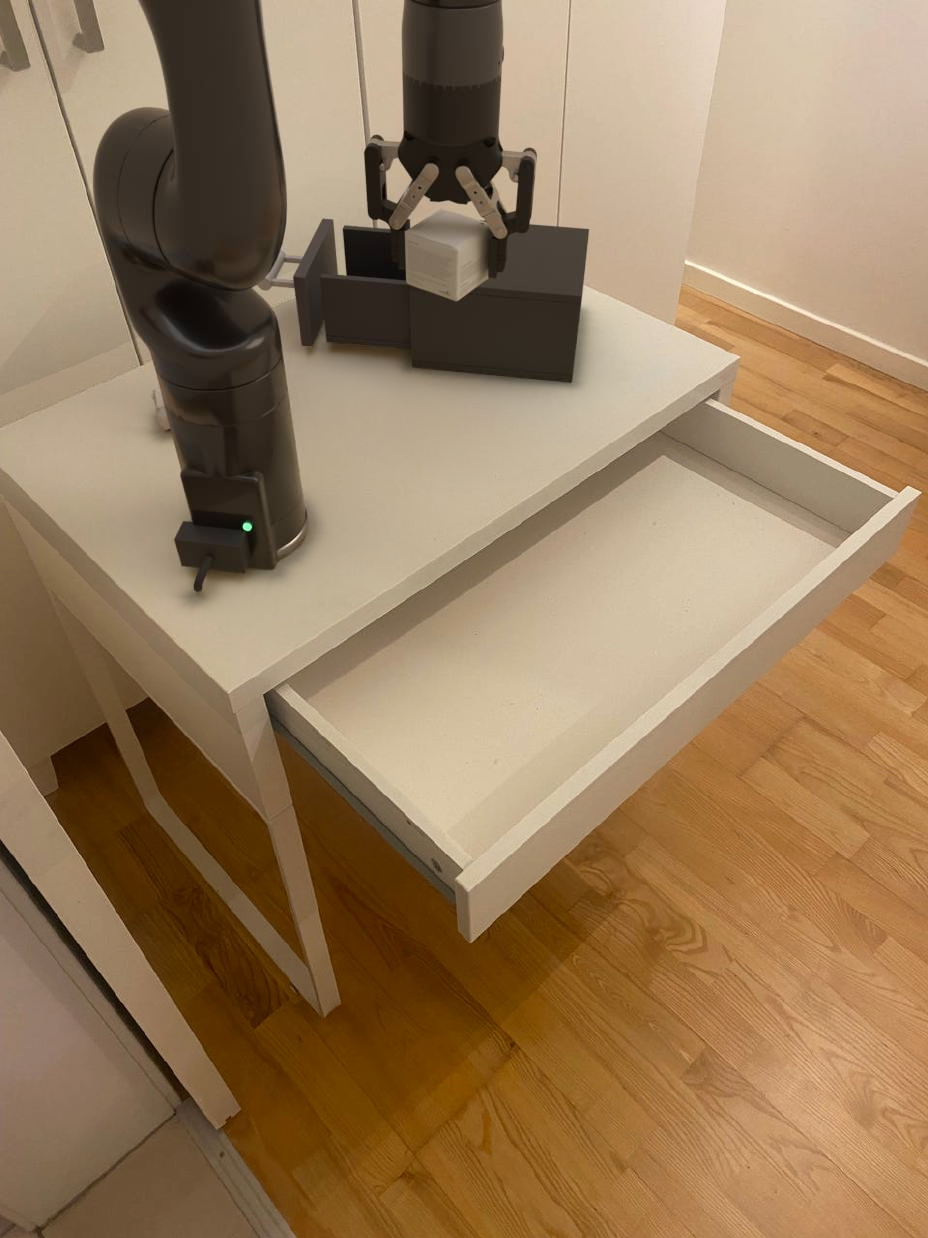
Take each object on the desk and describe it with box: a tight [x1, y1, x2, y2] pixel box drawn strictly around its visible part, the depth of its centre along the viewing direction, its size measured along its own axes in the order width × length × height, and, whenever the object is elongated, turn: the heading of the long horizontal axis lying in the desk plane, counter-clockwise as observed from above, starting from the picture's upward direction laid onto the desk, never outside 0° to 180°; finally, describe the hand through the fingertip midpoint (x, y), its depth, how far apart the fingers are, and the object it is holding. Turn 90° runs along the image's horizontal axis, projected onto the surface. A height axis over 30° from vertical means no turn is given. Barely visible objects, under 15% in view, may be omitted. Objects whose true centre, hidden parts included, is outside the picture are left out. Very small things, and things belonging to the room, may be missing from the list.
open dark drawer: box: [257, 218, 411, 351], centre depth 100 cm, size 20×12×8 cm, turn 82°
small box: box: [405, 208, 492, 301], centre depth 83 cm, size 6×6×5 cm
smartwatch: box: [151, 387, 171, 431], centre depth 90 cm, size 4×2×4 cm, turn 16°
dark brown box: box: [409, 219, 590, 383], centre depth 99 cm, size 17×14×10 cm
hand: (449, 269), depth 84 cm, fingers closed on small box, 7 cm apart
